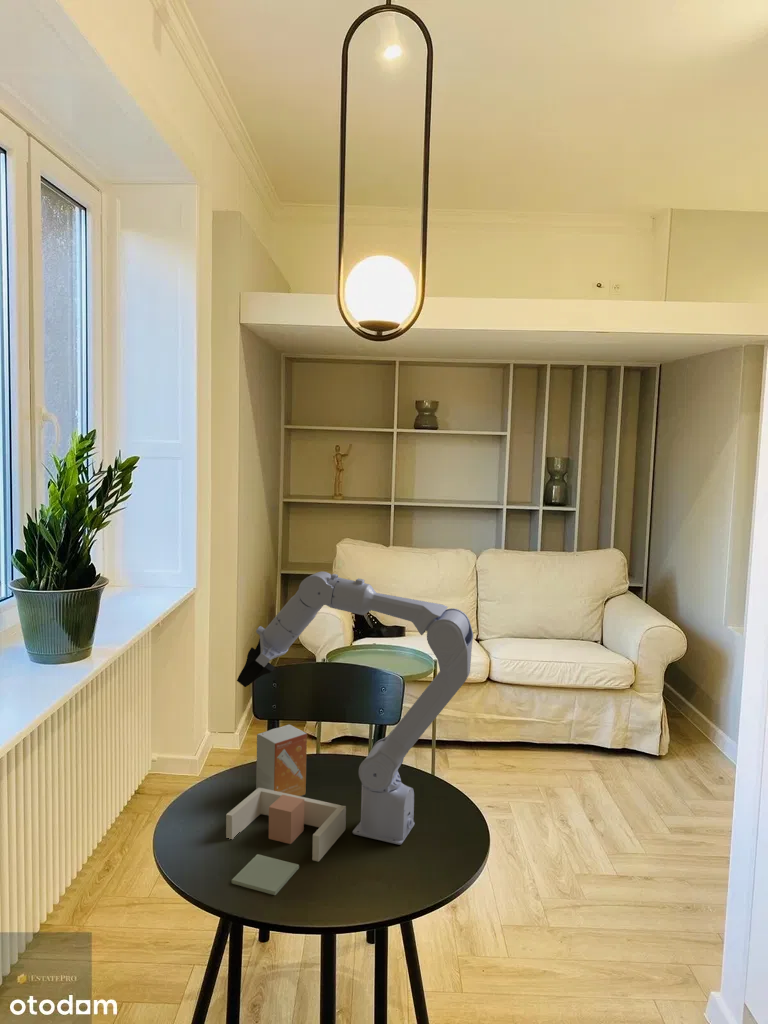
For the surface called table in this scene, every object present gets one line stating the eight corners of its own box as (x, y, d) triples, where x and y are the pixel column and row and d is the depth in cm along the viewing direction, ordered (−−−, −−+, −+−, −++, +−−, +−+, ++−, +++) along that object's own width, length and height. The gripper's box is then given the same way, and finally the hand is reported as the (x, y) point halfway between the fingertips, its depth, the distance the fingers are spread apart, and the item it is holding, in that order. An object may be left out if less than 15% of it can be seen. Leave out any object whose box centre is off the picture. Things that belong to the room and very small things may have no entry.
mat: (298, 868, 122) (299, 864, 122) (275, 895, 115) (275, 891, 114) (257, 857, 125) (257, 854, 125) (231, 883, 117) (231, 879, 117)
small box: (273, 807, 142) (274, 743, 141) (255, 796, 146) (255, 733, 145) (306, 794, 147) (307, 732, 146) (288, 783, 152) (288, 723, 151)
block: (303, 830, 134) (304, 799, 133) (290, 844, 129) (291, 812, 129) (282, 825, 136) (282, 794, 135) (268, 838, 131) (268, 806, 130)
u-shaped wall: (345, 829, 134) (345, 806, 134) (318, 861, 124) (319, 836, 124) (258, 809, 141) (258, 787, 140) (226, 838, 131) (226, 814, 130)
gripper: (281, 597, 143) (241, 645, 146) (262, 625, 129) (218, 678, 132) (309, 619, 143) (268, 667, 147) (294, 649, 129) (249, 702, 133)
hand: (247, 674), depth 139 cm, fingers open, 7 cm apart
